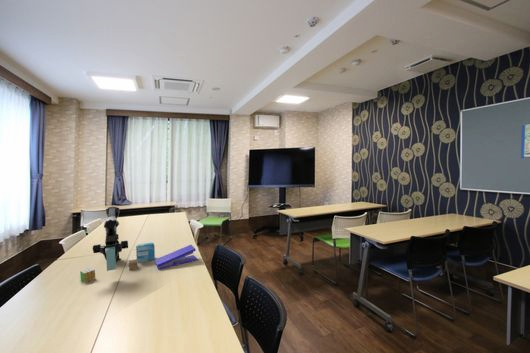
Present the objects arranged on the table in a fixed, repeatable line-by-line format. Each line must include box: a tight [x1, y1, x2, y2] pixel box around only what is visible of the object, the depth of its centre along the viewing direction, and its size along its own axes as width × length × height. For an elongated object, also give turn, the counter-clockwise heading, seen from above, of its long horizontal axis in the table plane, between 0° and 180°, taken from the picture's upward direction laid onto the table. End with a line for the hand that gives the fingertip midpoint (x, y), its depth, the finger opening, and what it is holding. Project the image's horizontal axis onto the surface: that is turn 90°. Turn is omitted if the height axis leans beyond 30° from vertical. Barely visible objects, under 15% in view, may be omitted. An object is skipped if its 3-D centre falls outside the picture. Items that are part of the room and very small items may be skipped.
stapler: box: [154, 244, 199, 271], centre depth 175 cm, size 12×28×10 cm, turn 125°
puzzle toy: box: [79, 267, 96, 283], centre depth 150 cm, size 6×6×6 cm
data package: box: [135, 242, 156, 263], centre depth 180 cm, size 12×4×12 cm, turn 120°
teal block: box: [105, 247, 117, 272], centre depth 149 cm, size 4×4×13 cm
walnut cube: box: [128, 258, 139, 271], centre depth 166 cm, size 5×5×5 cm
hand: (110, 259), depth 148 cm, fingers closed on teal block, 4 cm apart
